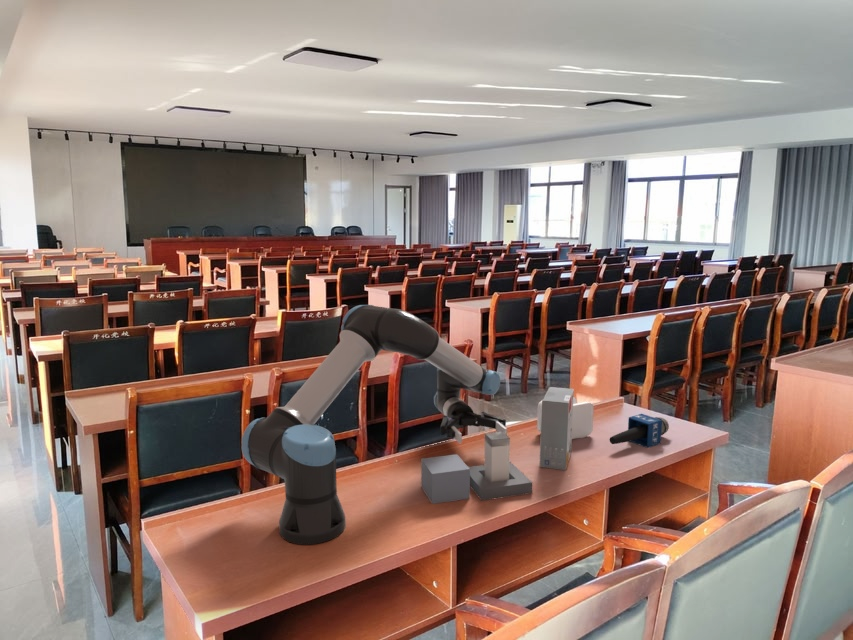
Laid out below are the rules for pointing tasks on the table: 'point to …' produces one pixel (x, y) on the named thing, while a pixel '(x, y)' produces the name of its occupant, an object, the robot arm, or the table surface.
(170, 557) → the table surface
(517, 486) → the socket block
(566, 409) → the hard drive box
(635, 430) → the microphone
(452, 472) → the stand
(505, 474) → the plug
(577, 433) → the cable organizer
